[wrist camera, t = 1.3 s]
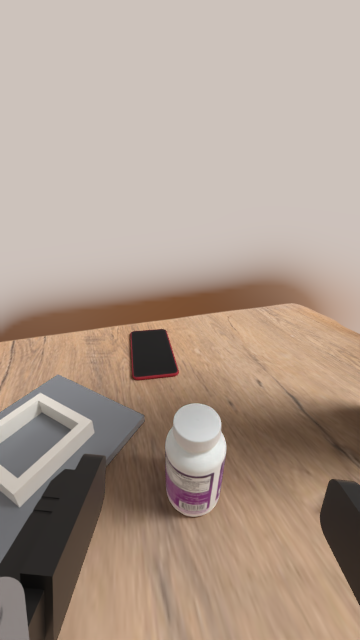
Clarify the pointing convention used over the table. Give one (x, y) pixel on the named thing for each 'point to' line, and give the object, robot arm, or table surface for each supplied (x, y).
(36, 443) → the socket plate
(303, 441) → the table surface
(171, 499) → the pill bottle
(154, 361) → the smartphone
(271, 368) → the table surface
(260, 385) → the table surface
